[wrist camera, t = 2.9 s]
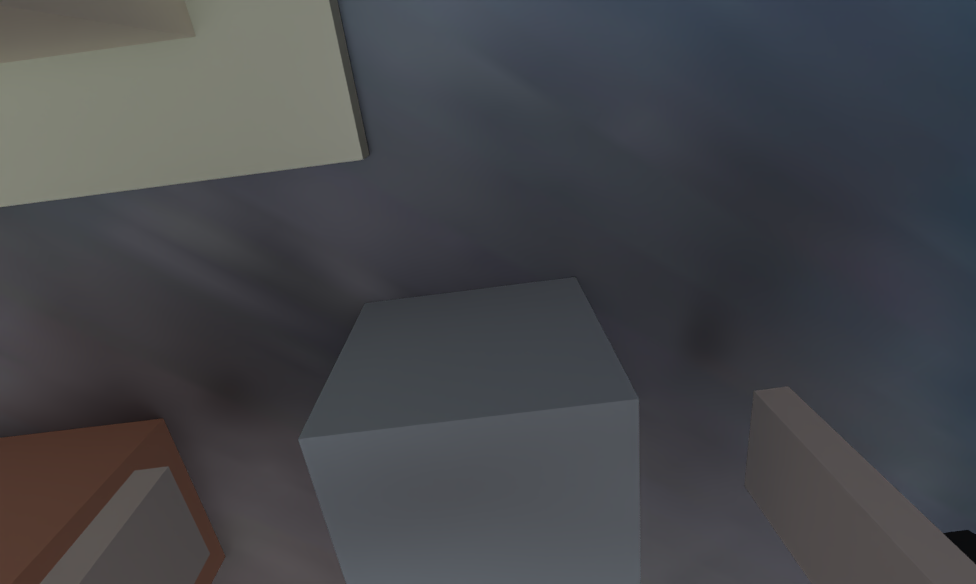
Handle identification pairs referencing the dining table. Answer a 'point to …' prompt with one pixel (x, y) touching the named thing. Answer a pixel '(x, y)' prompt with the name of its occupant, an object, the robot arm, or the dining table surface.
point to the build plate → (183, 105)
